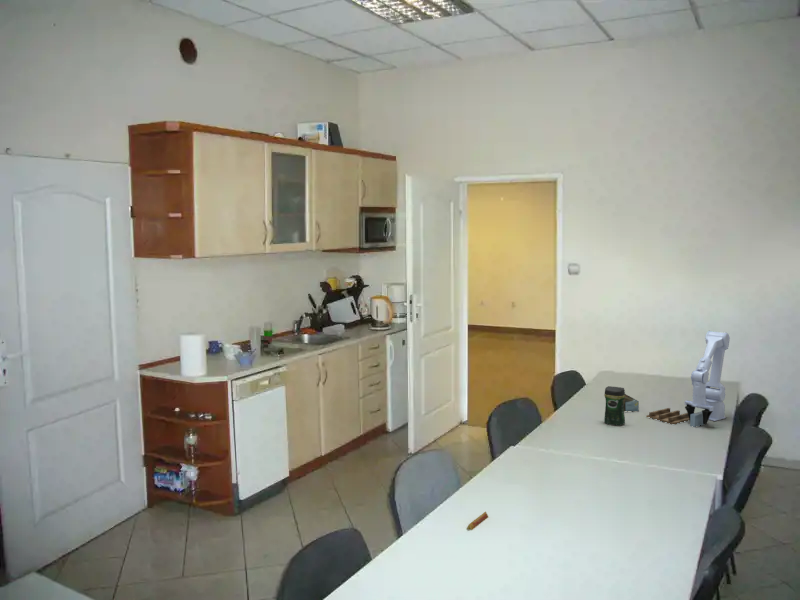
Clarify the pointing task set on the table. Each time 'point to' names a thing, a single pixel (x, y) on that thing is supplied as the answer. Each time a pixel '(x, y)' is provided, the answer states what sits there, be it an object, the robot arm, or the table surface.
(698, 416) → the tile
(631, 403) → the beverage carton
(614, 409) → the coffee jar
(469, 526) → the pencil
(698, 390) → the robot arm
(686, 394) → the table surface
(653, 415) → the rack
